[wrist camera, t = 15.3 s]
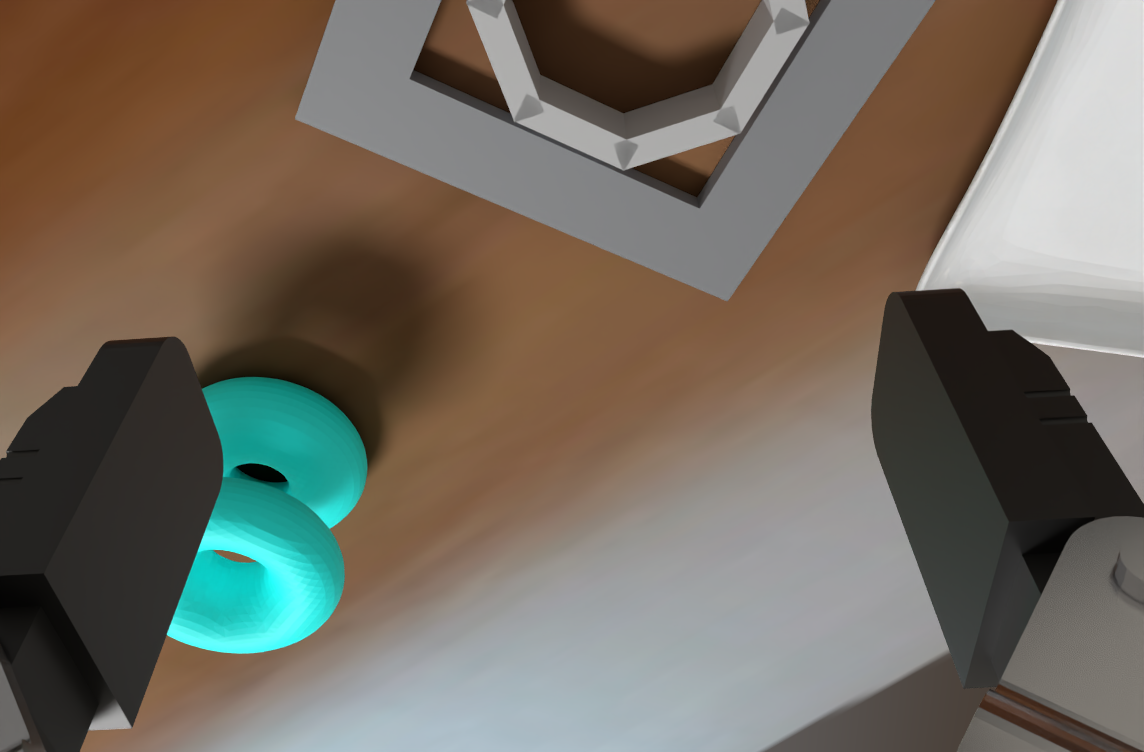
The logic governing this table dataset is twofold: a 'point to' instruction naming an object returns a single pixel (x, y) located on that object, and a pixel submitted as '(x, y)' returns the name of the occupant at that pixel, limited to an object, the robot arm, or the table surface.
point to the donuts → (272, 519)
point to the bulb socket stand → (616, 125)
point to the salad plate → (1061, 192)
